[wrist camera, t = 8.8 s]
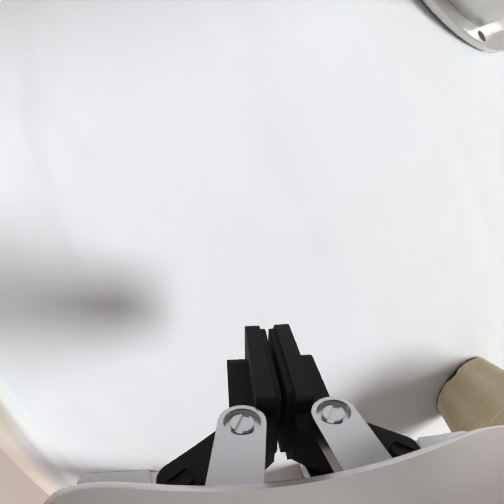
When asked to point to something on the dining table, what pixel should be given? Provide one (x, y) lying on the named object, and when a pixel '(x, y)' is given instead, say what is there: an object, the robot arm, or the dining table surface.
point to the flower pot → (473, 397)
